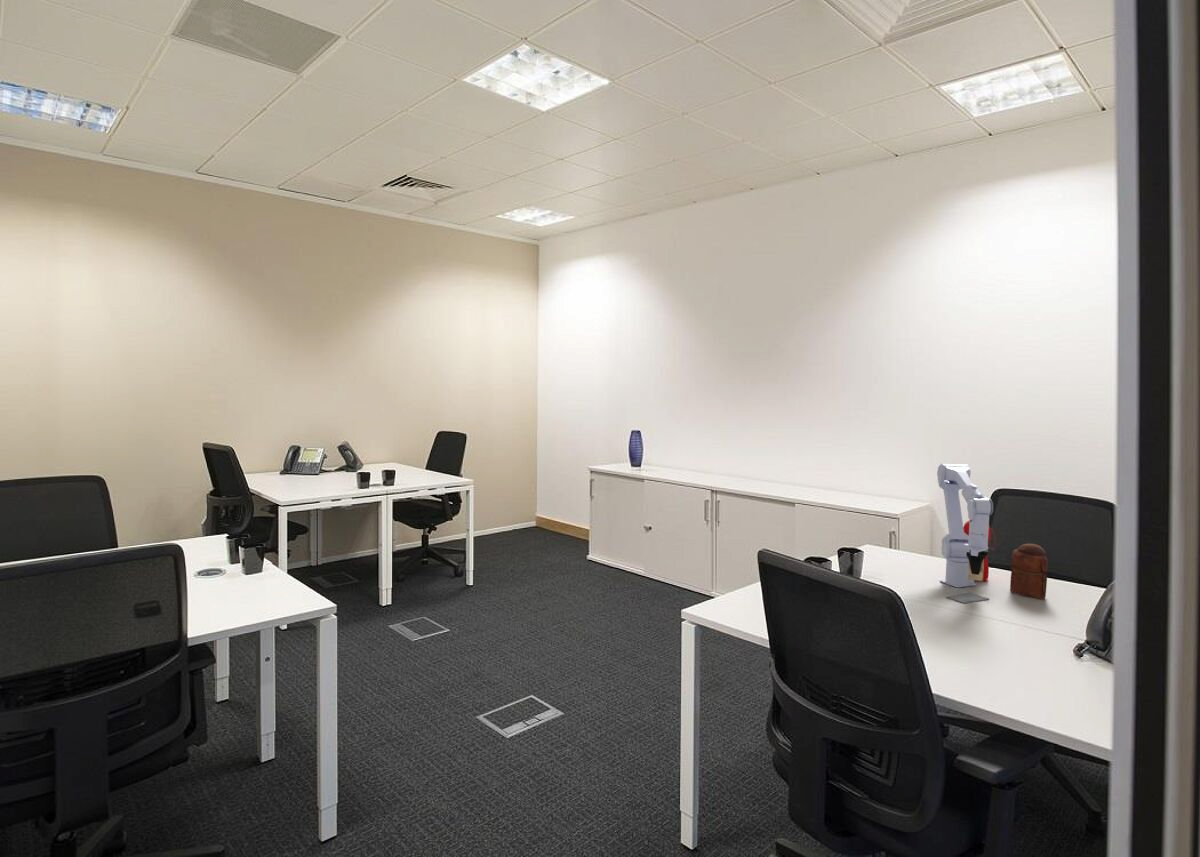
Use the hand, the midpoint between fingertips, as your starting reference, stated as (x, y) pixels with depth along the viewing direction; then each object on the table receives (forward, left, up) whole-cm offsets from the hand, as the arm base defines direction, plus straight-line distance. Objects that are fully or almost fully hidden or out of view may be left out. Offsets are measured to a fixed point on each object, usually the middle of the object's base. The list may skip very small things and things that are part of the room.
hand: (976, 572), depth 230 cm
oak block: (0, 0, -2) cm, 2 cm away
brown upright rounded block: (-21, +4, -9) cm, 23 cm away
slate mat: (+3, -1, -9) cm, 9 cm away
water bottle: (-21, -16, -9) cm, 28 cm away
